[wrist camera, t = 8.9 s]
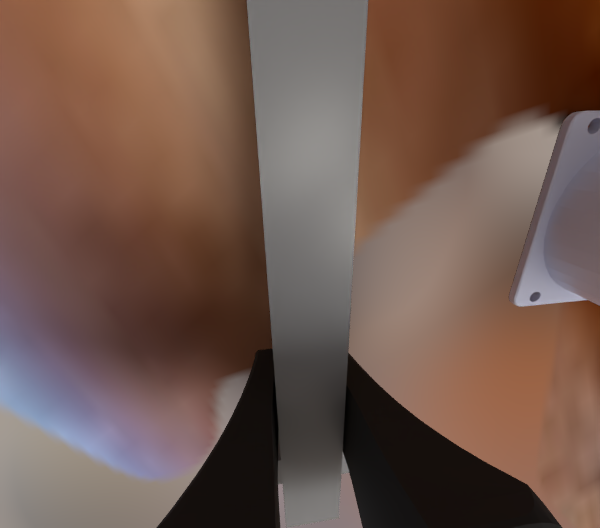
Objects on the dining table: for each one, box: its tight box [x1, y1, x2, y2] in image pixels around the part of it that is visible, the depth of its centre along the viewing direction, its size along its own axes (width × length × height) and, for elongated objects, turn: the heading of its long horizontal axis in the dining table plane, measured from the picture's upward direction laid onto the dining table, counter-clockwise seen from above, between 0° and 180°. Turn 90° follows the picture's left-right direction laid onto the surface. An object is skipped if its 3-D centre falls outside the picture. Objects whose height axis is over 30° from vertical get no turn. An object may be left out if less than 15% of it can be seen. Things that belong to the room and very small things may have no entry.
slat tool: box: [247, 0, 368, 528], centre depth 9 cm, size 5×20×4 cm, turn 1°
